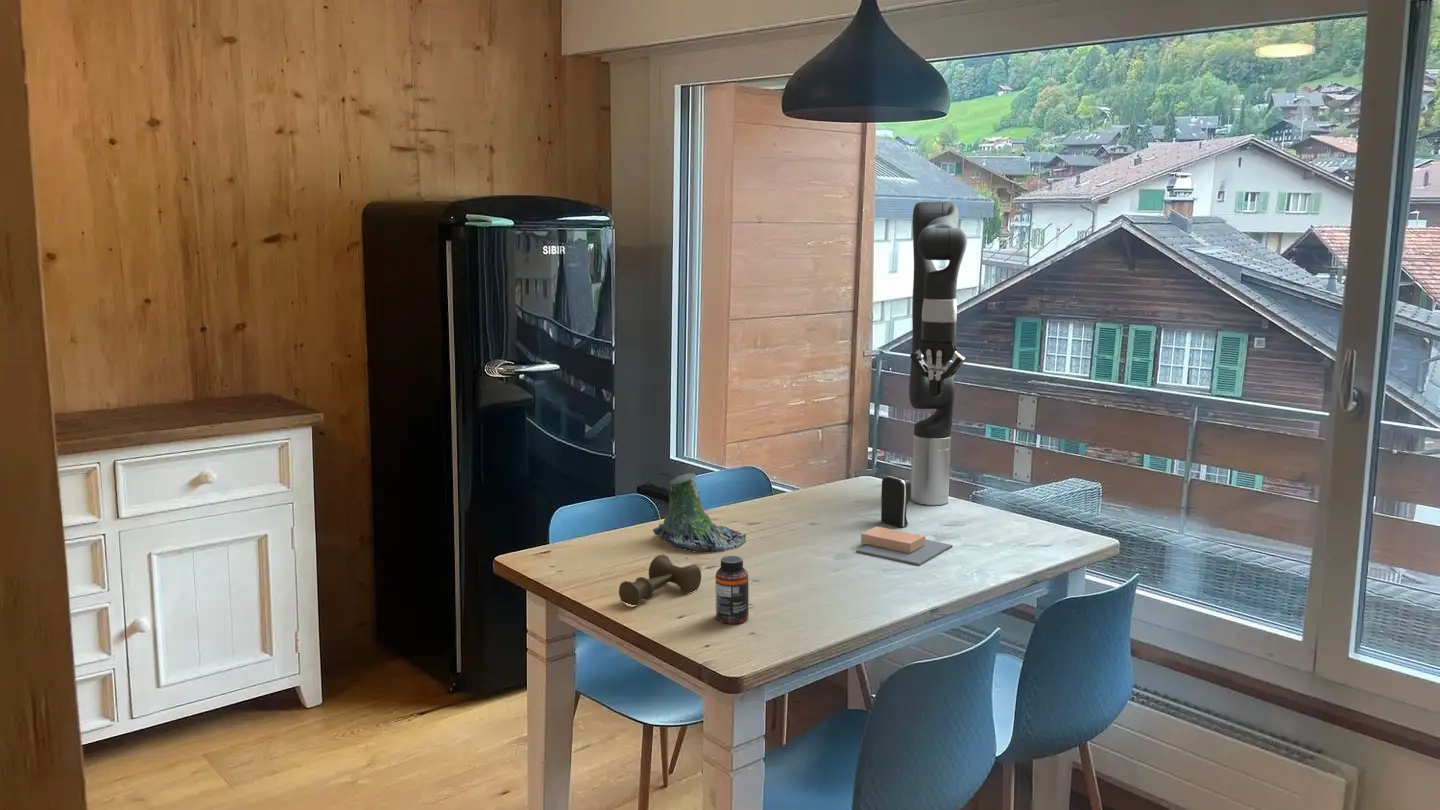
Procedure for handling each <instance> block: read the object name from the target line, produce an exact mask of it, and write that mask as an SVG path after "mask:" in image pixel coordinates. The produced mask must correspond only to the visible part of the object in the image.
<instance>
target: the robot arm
mask: <svg viewBox="0 0 1440 810" xmlns="http://www.w3.org/2000/svg"><path fill="white" fill-rule="evenodd" d="M959 215H960V214H959V209H958V206H957V205H956V204H955V203H954V202H952V201H922V202H921V201H920V202H916V204H915V205H914V208H913V211H912V243H913V244H912V246H913V247H912V248H913V281H912V283H913V285H912V305H911V306H912V307H911V309H912V311H911V314H912V316H911V318H912V320H911V321H912V324H911V325H912V336H911V337H912V339H911V340H912V347H911V348H912V349H911V354H910V356H909V357H910V358H911V359H910V361H911V362H910V369H909V370H910V373H909V386H908V398H909V402H910V406H911V407H912V408H913V409H915V410H935V411H934V413H933V414H931V415H930V416H929V417H927V418H924V419H922V420H919V421H917V422H916V423H915V424H914V426H913V446H912V448H913V454H912V456H913V457H912V461H911V463H910V483H911V501H912V502H913V503H916V504H918V503H919V504H920V505H924V504H925V506H942V505H946V504H948V503H949V493H950V492H949V489H950V473H951V472H950V469H951V443H952V436H951V435H952V426H953V417H954V415H953V414H954V405H955V395H956V383H955V379H954V375H955V374H956V373H957V371H958V370H959V369H960V368H961V367H962V365H963V364H964V363H965V361H966V360H967V358H966V356H962V355H961V354H960V352H959V353H958V352H957V351H958V348H957V346H956V338H957V337H956V336H957V318H958V317H957V315H958V306H957V292H958V291H957V286H958V277H959V271H960V267H961V265H962V261H963V259H964V255H965V253H966V249H967V246H968V237H967V234H966V232H965V231H964V230H963V229H962V228H960V227H959V225H960V221H959V220H960V216H959ZM933 261H949V263H948V265H947V266H945V268H942V269H940V270H939V269H937V268H936V267H935V265H934V263H933ZM951 360H952V361H951ZM950 361H951V362H952V364H951V365H950V366H948V364H949V363H950ZM947 502H948V503H947ZM919 504H918V505H919Z"/></svg>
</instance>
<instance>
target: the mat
mask: <svg viewBox="0 0 1440 810" xmlns="http://www.w3.org/2000/svg"><path fill="white" fill-rule="evenodd" d="M952 548H953V544H950V543H946V542H945V543H944V542H938V541H935V540H930V539H925V545H924V546H922V547H921V548H919V549H917V550H915V551H913V552H911V553H905V552H900V551H895V550H891V549H886V548H881V547H876V546H872V545H867V544H865V545H864V546H861V547H860V548H857V549H856V553H857V554H864V555H868V556H873V557H876V556H877V557H876V558H882V559H886V560H890V561H895V562H901V563H904V562H905V564H909V565H913V564H915V566H918V565H919V567H920V566H922V565H924V564H925V563H927V562H929V561H931V560H932V559H934V558H936V557H938V556H940V555H941V554H943V553H944V551H945V552H946V551H948V550H950V549H952ZM937 555H938V556H937ZM935 556H936V557H935ZM930 559H931V560H930ZM928 560H929V561H928ZM923 563H924V564H923ZM921 564H922V565H921Z"/></svg>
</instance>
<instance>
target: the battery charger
mask: <svg viewBox="0 0 1440 810" xmlns="http://www.w3.org/2000/svg"><path fill="white" fill-rule="evenodd" d="M880 490H881V493H880V494H881V495H880V497H881V498H880V499H881V506H880V507H881V510H880V513H881V515H880V521H881V522H883V523H886V524H888V525H891V526H894V527H898V528H904V527H907V526H908V524H909V522H908V519H907V509H908V508H907V507H908V506H907V505H908V502H909V501H912V498H911V480H909V479H908V478H906V477H902V476H899V475H898V476H897V475H887V476H884V477H883V478H882V481H881V489H880Z"/></svg>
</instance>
